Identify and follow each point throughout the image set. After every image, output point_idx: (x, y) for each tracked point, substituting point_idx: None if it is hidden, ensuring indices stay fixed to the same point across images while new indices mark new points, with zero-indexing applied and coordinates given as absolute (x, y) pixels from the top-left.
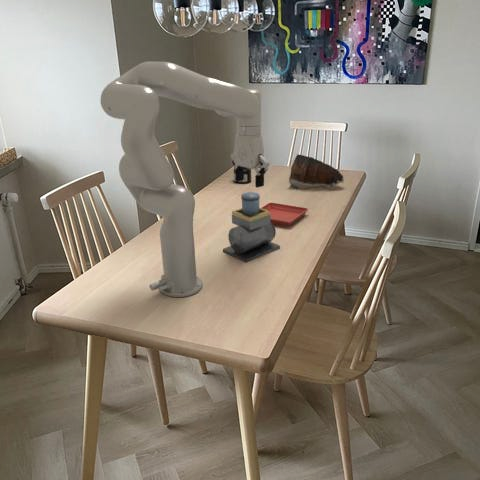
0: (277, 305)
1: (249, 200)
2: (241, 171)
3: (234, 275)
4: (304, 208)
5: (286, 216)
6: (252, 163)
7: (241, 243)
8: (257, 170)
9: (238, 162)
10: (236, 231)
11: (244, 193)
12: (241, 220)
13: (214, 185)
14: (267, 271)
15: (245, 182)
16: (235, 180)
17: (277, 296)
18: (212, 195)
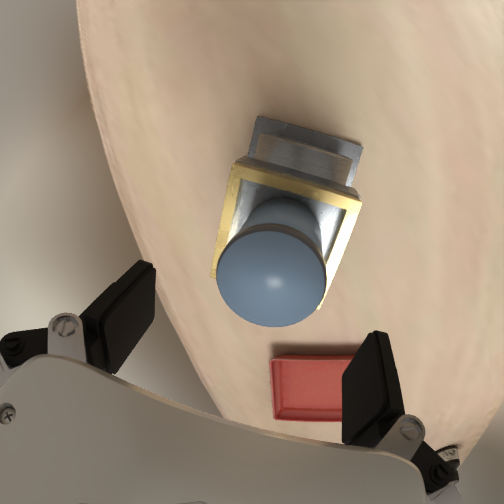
0: (101, 24)
1: (246, 229)
2: (353, 418)
3: (239, 42)
4: (282, 419)
5: (310, 391)
6: (7, 391)
7: (283, 138)
8: (52, 349)
9: (327, 485)
10: (307, 147)
11: (318, 294)
12: (294, 174)
13: (485, 425)
14: (181, 107)
15: (437, 452)
16: (454, 449)
17: (113, 43)
18: (486, 401)
